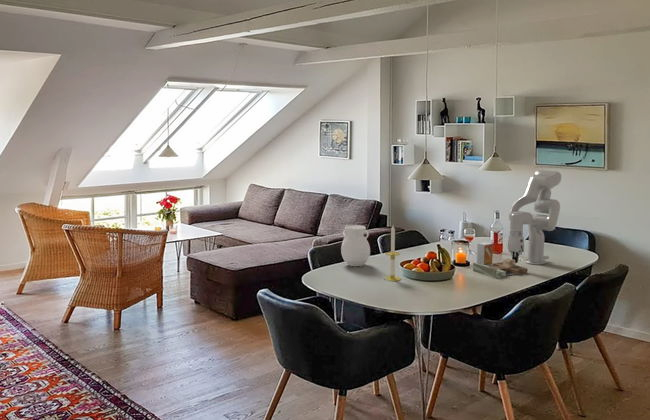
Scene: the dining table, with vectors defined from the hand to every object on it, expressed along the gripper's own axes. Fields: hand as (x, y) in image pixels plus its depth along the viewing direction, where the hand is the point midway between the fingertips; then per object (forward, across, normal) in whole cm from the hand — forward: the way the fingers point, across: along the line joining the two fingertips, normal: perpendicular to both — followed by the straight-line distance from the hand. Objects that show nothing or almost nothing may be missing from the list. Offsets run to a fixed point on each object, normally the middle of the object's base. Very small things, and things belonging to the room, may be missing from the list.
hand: (514, 262), depth 395 cm
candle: (+6, +16, +78) cm, 80 cm away
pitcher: (+6, +56, +81) cm, 99 cm away
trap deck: (+5, 0, +11) cm, 12 cm away
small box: (+5, +23, +4) cm, 24 cm away
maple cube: (+2, 0, +4) cm, 5 cm away
